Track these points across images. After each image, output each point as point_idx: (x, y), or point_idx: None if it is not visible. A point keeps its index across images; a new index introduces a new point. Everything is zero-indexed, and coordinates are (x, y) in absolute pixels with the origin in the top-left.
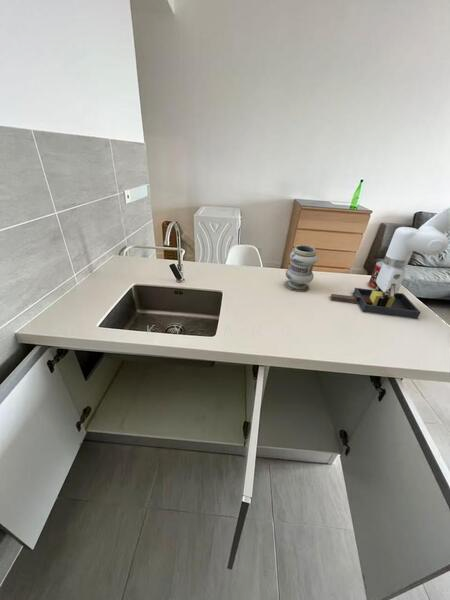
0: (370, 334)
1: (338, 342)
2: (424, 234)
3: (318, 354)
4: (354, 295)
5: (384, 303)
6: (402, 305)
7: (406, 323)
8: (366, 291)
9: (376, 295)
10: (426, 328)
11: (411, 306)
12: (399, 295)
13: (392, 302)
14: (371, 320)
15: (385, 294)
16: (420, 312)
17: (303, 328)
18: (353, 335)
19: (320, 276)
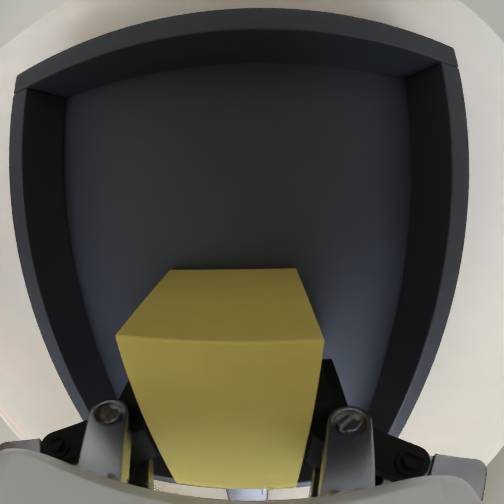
0: (496, 400)
1: (483, 449)
2: None
3: (490, 458)
4: None
5: (337, 386)
6: (194, 97)
7: (483, 209)
8: None
9: (291, 487)
10: (496, 96)
11: (302, 40)
12: (38, 111)
13: (307, 303)
14: (439, 405)
15: (224, 427)
16: (452, 51)
17: None
18: (481, 434)
19: None
